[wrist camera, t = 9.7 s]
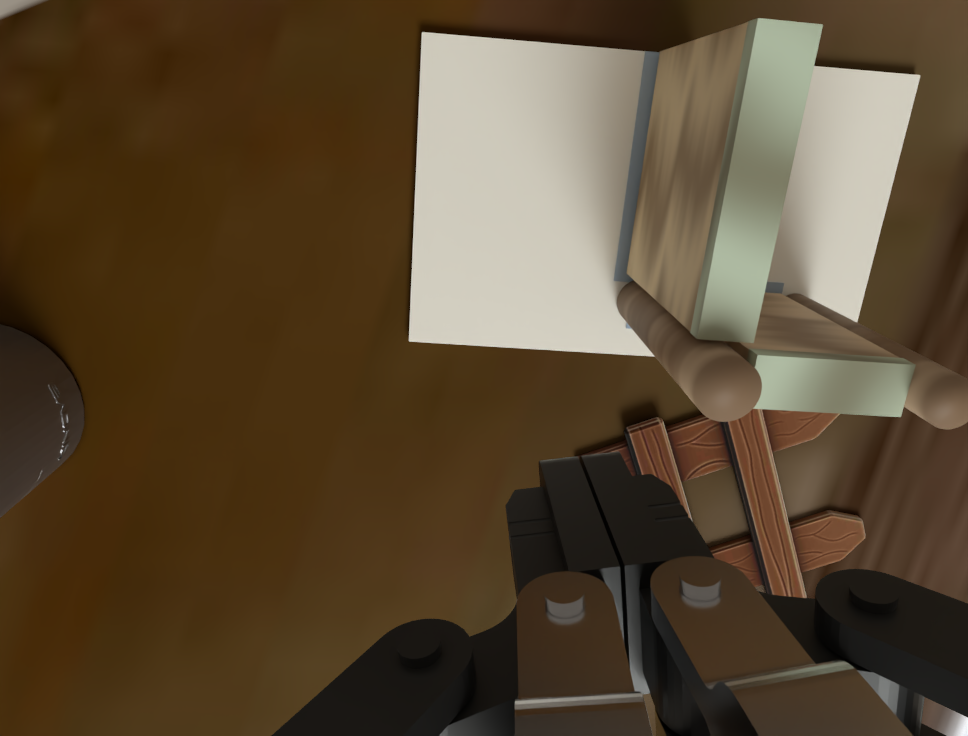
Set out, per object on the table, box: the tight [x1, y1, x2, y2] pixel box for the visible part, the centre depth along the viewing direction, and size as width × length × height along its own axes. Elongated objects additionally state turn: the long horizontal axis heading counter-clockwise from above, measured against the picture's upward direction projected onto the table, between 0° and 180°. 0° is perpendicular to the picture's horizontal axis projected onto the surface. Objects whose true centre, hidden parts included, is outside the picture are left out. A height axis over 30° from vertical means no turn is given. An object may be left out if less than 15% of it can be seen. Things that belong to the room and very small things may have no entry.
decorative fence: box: [577, 409, 865, 598], centre depth 44 cm, size 23×2×15 cm
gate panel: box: [626, 18, 823, 343], centre depth 29 cm, size 10×2×12 cm, turn 175°
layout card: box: [409, 32, 920, 357], centre depth 36 cm, size 24×15×1 cm, turn 86°
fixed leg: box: [617, 281, 968, 429], centre depth 32 cm, size 10×2×13 cm, turn 86°
